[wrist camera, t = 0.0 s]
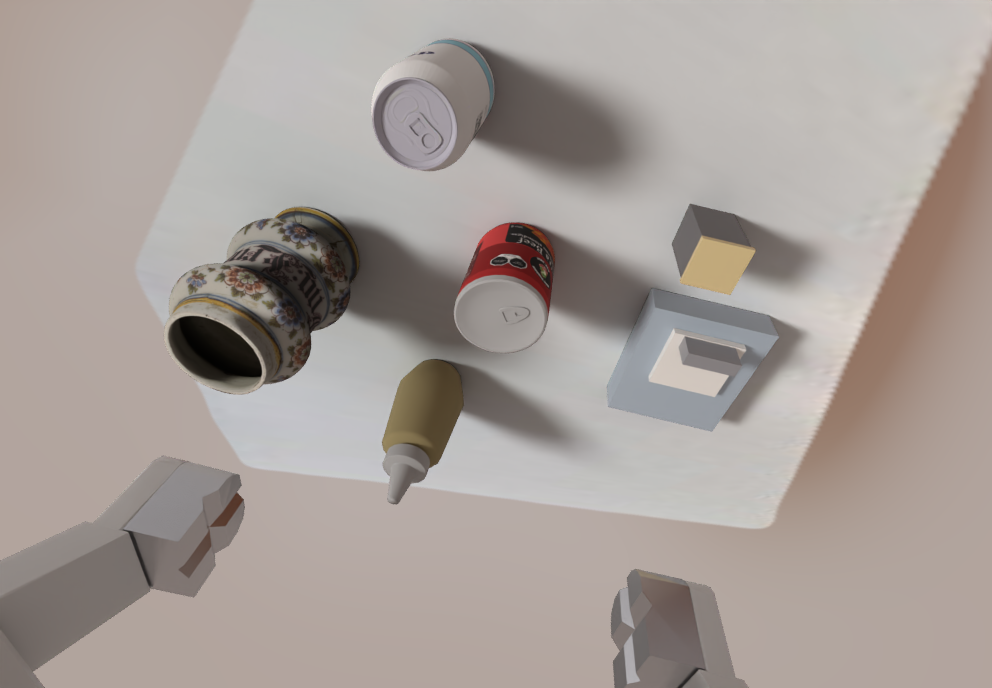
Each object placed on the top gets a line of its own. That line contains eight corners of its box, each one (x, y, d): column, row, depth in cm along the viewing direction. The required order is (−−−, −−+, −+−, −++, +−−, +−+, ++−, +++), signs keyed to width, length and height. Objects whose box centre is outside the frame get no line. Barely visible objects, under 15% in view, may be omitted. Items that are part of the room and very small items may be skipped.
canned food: (569, 266, 49) (565, 332, 41) (505, 300, 53) (488, 366, 45) (527, 203, 46) (512, 261, 38) (461, 244, 50) (434, 305, 41)
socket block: (651, 287, 49) (655, 307, 47) (768, 315, 49) (779, 337, 47) (607, 385, 58) (607, 406, 56) (706, 409, 58) (711, 431, 56)
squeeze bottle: (449, 408, 65) (410, 533, 51) (395, 378, 63) (340, 500, 49) (482, 374, 60) (449, 501, 46) (425, 340, 58) (372, 462, 44)
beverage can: (459, 15, 38) (416, 37, 28) (513, 96, 41) (489, 140, 31) (397, 75, 41) (340, 112, 32) (450, 146, 44) (412, 199, 35)
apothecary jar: (264, 175, 48) (131, 267, 34) (381, 226, 50) (298, 334, 36) (255, 272, 56) (144, 379, 42) (357, 313, 57) (282, 430, 43)
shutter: (673, 327, 48) (678, 349, 45) (744, 344, 48) (753, 367, 45) (648, 376, 52) (651, 399, 49) (713, 391, 52) (719, 415, 49)
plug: (689, 202, 44) (703, 238, 38) (735, 213, 44) (755, 250, 38) (670, 244, 46) (680, 283, 41) (714, 254, 46) (730, 295, 41)
